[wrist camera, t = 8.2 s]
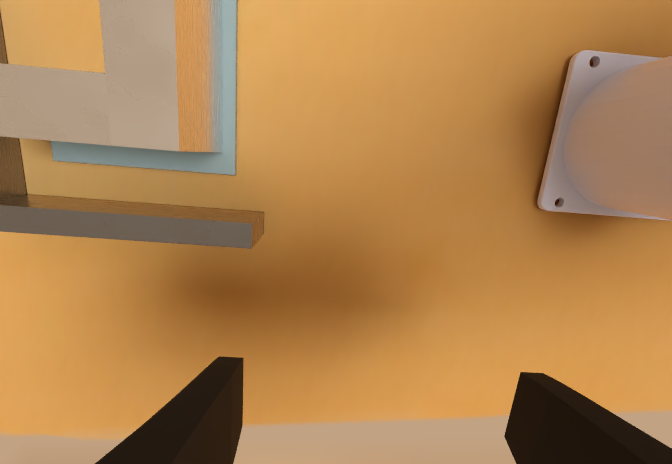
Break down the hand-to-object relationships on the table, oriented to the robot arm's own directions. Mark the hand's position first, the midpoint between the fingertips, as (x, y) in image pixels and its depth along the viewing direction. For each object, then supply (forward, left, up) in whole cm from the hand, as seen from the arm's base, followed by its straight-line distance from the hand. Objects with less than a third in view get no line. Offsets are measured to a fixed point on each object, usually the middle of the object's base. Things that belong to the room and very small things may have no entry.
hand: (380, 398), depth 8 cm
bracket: (+11, -10, -10) cm, 18 cm away
